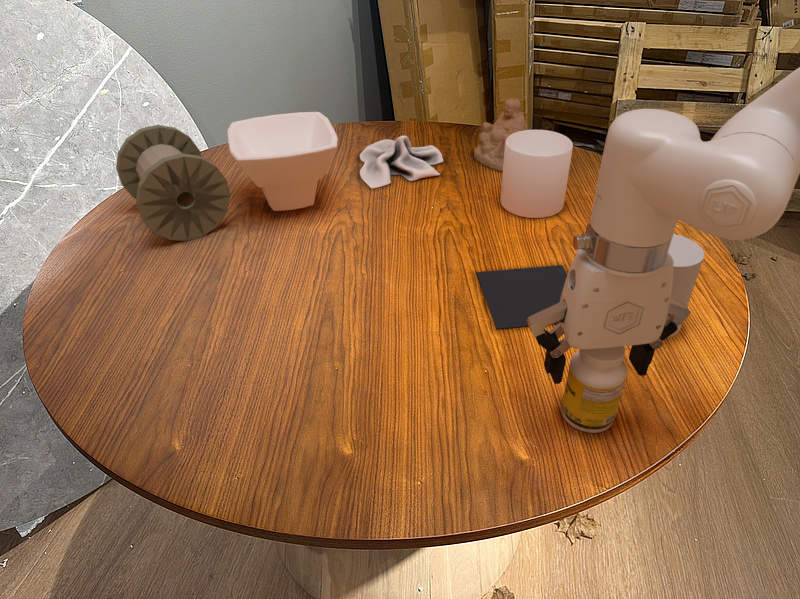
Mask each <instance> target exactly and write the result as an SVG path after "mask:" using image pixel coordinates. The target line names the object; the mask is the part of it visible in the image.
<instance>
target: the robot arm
mask: <svg viewBox="0 0 800 599" xmlns="http://www.w3.org/2000/svg"><path fill="white" fill-rule="evenodd" d="M799 176H800V66H798V68H796V69H795V70H793V71H792V72H790V73H789V74H788V75H787V76H784V78H783V79H781V80H780V81H778V82H777V83H775V84H774V85H773V86H772V87H770V88H769V89H767V90H766V91H765V92H763V93H762V94H761V95H759V96H757V98H755V99H754V100H752V101H750V103H748V104H747V105H745V107H743V108H742V109H741V110H739V111H738V112H736V113H735V114H734V115H733V116H732V117H730V118H729V119H728V120H727V121H726V122H725V123H723V125H722V126H721V127H720V128H719V129H718V131H717V132H715V134H714V135H713V137H712V138H711V139H710V140H708V141H703V140H702V139H701V133H700V130H699V127H698V126H697V124H696V123H695V122H694V121H693V120H691V118H689V117H687V116H685V115H683V114H680V113H677V112H674V111H671V110H665V109H660V108H638V109H631V110H628V111H625V112H623V113H621V114H620V115H618V116H617V117H615V119H614V120H613V121H612V122H611V124H610V125H609V128H608V131H607V134H606V137H605V142H604V147H603V152H602V158H601V163H600V167H599V173H598V177H597V182H596V183H597V184H596V188H595V194H594V199H593V205H592V210H591V215H590V218H589V219H590V220H589V223H588V222H587V224H586V229H585V231H584V233H581V234H580V235H574V236H573V239H572V246H573V248H574V250H577V251H576V254H575V256H574V258H573V261H572V262H571V264H570V267H569V269H568V272H567V274H568V275H567V278H566V281H565V284H564V287H563V291H562V295H561V299H560V302H559V303H557V304H555V305H553V306H551V307H549V308H546V309H544V310H542V311H540V312H538V313H536V314H534V315H531V316H529V317H528V318H527V322H528V325H529V327H528V328H529V329H530V331H531V333H532V335H533V337H534V338H535V340H536V342H537V344H538V345H539V346H540V347H541V348H543V349H544V350H545V356H544V361H543V367H544V370H545V372H546V374H549V375H550V377H551V379H552V381H553V384H554V385H559V384H561V383H562V381H563V377H564V372H565V367H566V362H567V357H566V355H565V353H566V352H567V351H569V350H570V349H571V348H573V349H576V350H580V349H596V348H609V347H620V346H624V347H630V346H631V347H630V350H629V353H628V361H629V362H630V363H631V365H632V367H633V369H634V371H635V372H636V374H637V376H639V377H645V376H647V373H648V370H649V367H650V365H651V364H652V361H653V359H654V354H655V352H656V350H658V349H660V348H662V346H663V345H664V341H665V340H666V339H668V338H667V337H669V336H670V335H672V334H673V333H675V332H676V331H677V329H678V327H677V326H678V325H680V324H681V323H682V324H683V322H684V321H685V320H686V319H687V318H688V317H689V316H690V315H691V310H690V308H688V307H687V306H686V305H685V304H684V303H682V302H679V301H677V300H674V299H672V298H671V292H672V283H673V258H672V257H671V255H670V254H669V253H668V250H669V247H670V244H671V240H672V237H673V234H675V229H676V226H677V223H678V221H680V222H681V223H684V224H686V225H688V226H690V227H692V228H694V229H696V230H698V231H700V232H702V233H705V234H707V235H710V236H713V237H715V238H719V239H723V240H728V241H729V240H731V241H743V240H745V241H746V240H750V239H753V238H756V237H759V236H761V235H763V234H766V233H767V232H768V231H769V230H770V229H772V228H773V227H774V226H775V225H776V224H777V223H778V222H779V220H780V219H781V217H782V216H783V215H784V213H785V211H786V208H787V207H788V204H789V201H790V199H791V196H792V194H793V191H794V189H795V186H796V184H797V181H798V179H799ZM557 321H558V324H555V326H554V327H553V328H551V329H550V330H549V331H548V330H547V329H546V328H547V327H549V326H552V325H554V324H553V323H555V322H557ZM551 324H552V325H551ZM563 336H564V337H563ZM561 337H563V338H561ZM560 338H561V340H559V339H560Z"/></svg>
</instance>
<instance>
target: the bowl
mask: <svg viewBox="0 0 800 599" xmlns="http://www.w3.org/2000/svg"><path fill="white" fill-rule="evenodd" d="M226 136H227V143H228V148H229V153H230V156H231V157H232V159H234V160H235V162H236V163H237V164H238V165H239V167H240V168H241V169H242V170H243V172H244V173H245V174H246V175H247V176H248V178H250V180H251V181H252V183H254V185H255V186H256V187H257V188H261V191H262V193H263V195H264V198H265V199H266V201H267V203H268V206H269V207H270V208H271V210H272V211H274V212H284V211H292V210H298V209H304V208H307V207H311V206H314V205H315V201H316V200H315V199H316V193H317V189H318V182H319V180H322V179H323V178H324V177H325V175H326V173H327V170H328V169H329V166H330V165H331V162H332V160H333V158H334V155H335V154H336V151H337V149H338V143H339V137H338V134H337V133H336V131H335V129H334V126H333V125H332V123H331V121H330V119H329V118H328V117H327V116H325V115H324V114H323V113H322V112H320V111H300V112H289V113H278V114H271V115H264V116H263V115H262V116H258V117H250V118H246V119H242V120H238V121H237V120H236V121H232V122H231V123H230V125H229V127H228V129H227V131H226Z"/></svg>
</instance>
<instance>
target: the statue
mask: <svg viewBox="0 0 800 599" xmlns="http://www.w3.org/2000/svg"><path fill="white" fill-rule="evenodd" d="M521 107H522V103H521V101H520V100H519V99H518V98H516V97H509V98H507V99H506V100H505V101H504V103H503V108H502V110H503V111H502V113H500V115H499V117H498V118H497V119H496V121H495V122H494V123H493V124H492V123H491V122H487V121H484V122H483V123H482V132H481V133H479V138H478V139H479V144H478V146H476V147H475V148H474V150H473V157H474V159H475V160H476V161H477V162H479V163H480V164H482V165H483V166H485V167H487V168H490V169H493V170H495V171H499V172H503V162H504V150H505V141H506V139H507V138H508V137H509V136H510V135H511V134H513V133H516V132H519V131H524V130H527V126H526V118H525V115H524V114H523V113H522V112H521Z"/></svg>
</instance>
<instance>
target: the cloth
mask: <svg viewBox="0 0 800 599" xmlns="http://www.w3.org/2000/svg"><path fill="white" fill-rule="evenodd" d="M443 158H444V157H443V154H442V153H441V151H440V150H439V149H438V148H437V147H436V146H435V145H432V144H429V145H425V146H413V145H412V143H411V140H410V138H409V136H407V135H400V136H398V137H397V138H396V139H395V140H393V139H388V138H386V139H385V138H384V139H381V140H378V141H376V142H374V143H371V144H369V145H367V146H366V147H364V148H363V150H362V151H361V152H360V153H359V159H360V161H361V162H362V163H363V165H362V167H361V168H360V169H359V176H360V178H361V180H362V181H363V182H364V183H365V184H366V186H368V188H370V190H374V189H378V188H382V187H385V186H388V185H390V184H391V183H392V181H391V177H392V176H402V177H403V178H404V179H406V180H407V181H409V182H413V181H417V180H419V179H423V178H431V177H438V176H440V175H441V173H439V171H437V170H436V169H435V167H433V166H435V165H439V164H441V163H443V162H444V159H443Z"/></svg>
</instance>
